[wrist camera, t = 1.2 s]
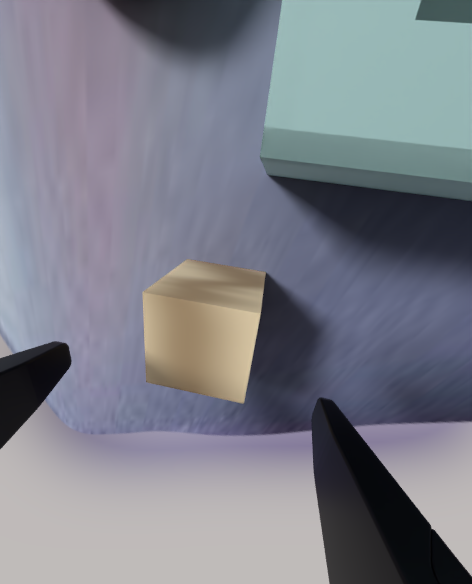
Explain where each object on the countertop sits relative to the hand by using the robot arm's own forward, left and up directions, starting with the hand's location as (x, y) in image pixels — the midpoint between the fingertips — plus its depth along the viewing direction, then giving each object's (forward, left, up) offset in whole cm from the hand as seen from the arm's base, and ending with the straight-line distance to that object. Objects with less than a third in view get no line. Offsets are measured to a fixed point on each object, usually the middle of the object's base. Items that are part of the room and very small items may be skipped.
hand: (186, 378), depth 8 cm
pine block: (0, 0, -6) cm, 7 cm away
